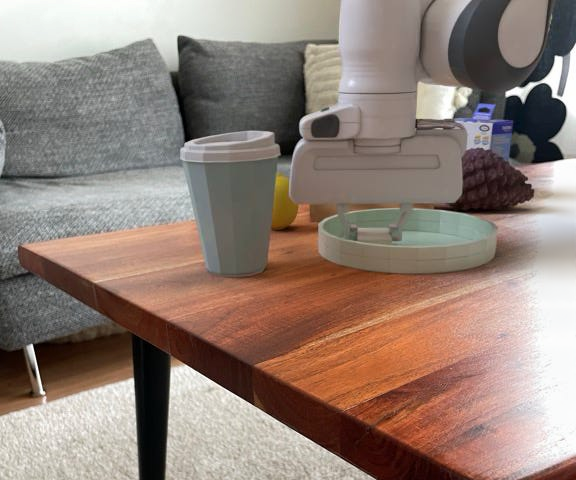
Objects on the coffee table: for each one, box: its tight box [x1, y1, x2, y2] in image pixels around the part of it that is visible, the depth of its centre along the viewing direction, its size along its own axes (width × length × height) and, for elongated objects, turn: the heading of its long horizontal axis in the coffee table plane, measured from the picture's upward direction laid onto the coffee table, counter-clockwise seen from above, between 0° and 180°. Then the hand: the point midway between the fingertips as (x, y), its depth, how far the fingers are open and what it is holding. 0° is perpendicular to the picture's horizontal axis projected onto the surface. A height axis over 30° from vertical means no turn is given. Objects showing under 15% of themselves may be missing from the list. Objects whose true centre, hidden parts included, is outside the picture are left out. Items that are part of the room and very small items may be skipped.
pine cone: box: [444, 147, 535, 212], centre depth 110 cm, size 18×10×10 cm
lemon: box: [271, 172, 300, 231], centre depth 98 cm, size 6×6×8 cm
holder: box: [308, 203, 435, 223], centre depth 108 cm, size 18×14×5 cm
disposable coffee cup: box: [179, 130, 282, 278], centre depth 78 cm, size 11×11×15 cm
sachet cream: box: [357, 228, 392, 245], centre depth 87 cm, size 4×6×2 cm, turn 178°
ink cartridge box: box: [453, 102, 514, 163], centre depth 120 cm, size 10×6×14 cm, turn 36°
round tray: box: [317, 208, 499, 275], centre depth 87 cm, size 21×21×4 cm
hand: (372, 240), depth 87 cm, fingers closed on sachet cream, 4 cm apart
